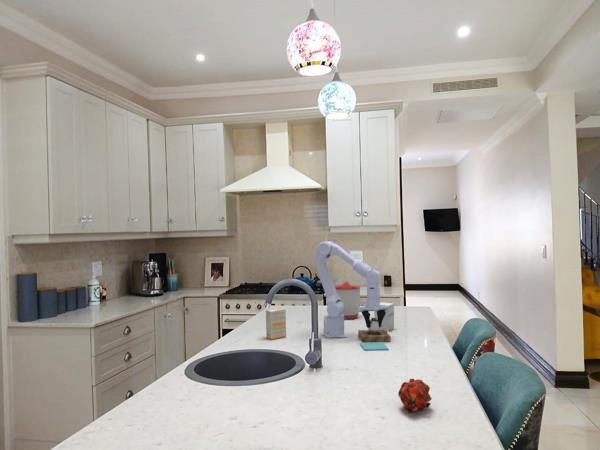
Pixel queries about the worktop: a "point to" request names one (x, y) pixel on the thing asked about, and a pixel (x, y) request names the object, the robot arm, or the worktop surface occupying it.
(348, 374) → the worktop surface
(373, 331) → the metal plug
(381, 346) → the teal mat
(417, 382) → the dragon fruit
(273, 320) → the supplement box
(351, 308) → the citrus juicer
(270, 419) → the worktop surface
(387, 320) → the white boxy piece
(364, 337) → the bore block
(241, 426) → the worktop surface
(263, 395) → the worktop surface
